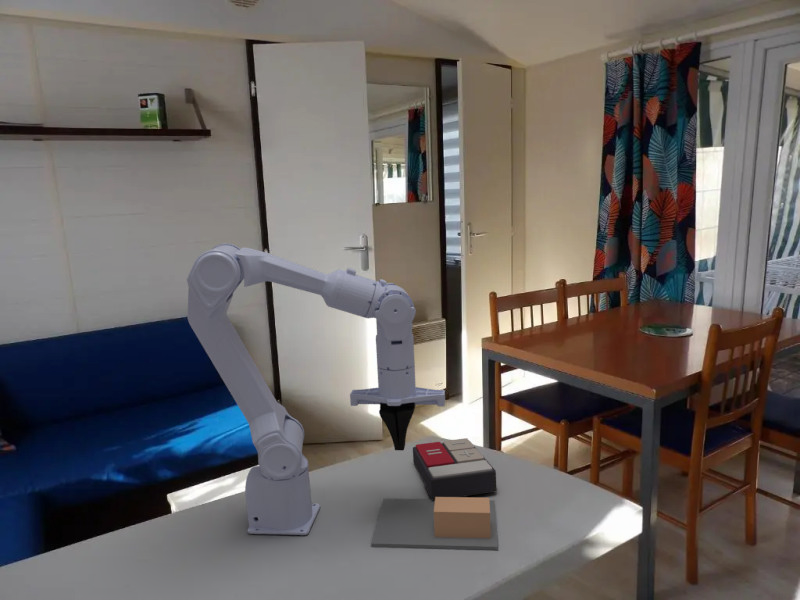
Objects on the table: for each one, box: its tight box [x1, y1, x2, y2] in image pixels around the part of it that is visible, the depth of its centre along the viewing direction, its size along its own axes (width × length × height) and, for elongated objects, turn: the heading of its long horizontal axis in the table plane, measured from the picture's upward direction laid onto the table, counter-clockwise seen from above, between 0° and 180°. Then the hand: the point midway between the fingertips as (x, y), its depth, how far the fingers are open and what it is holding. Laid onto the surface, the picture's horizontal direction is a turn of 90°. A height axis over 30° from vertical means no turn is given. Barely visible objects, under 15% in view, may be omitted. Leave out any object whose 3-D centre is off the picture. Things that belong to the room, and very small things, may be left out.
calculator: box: [412, 438, 497, 500], centre depth 101 cm, size 11×4×15 cm
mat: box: [370, 498, 499, 551], centre depth 88 cm, size 18×12×1 cm, turn 83°
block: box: [434, 496, 491, 538], centre depth 85 cm, size 4×4×8 cm
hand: (400, 447), depth 91 cm, fingers closed
